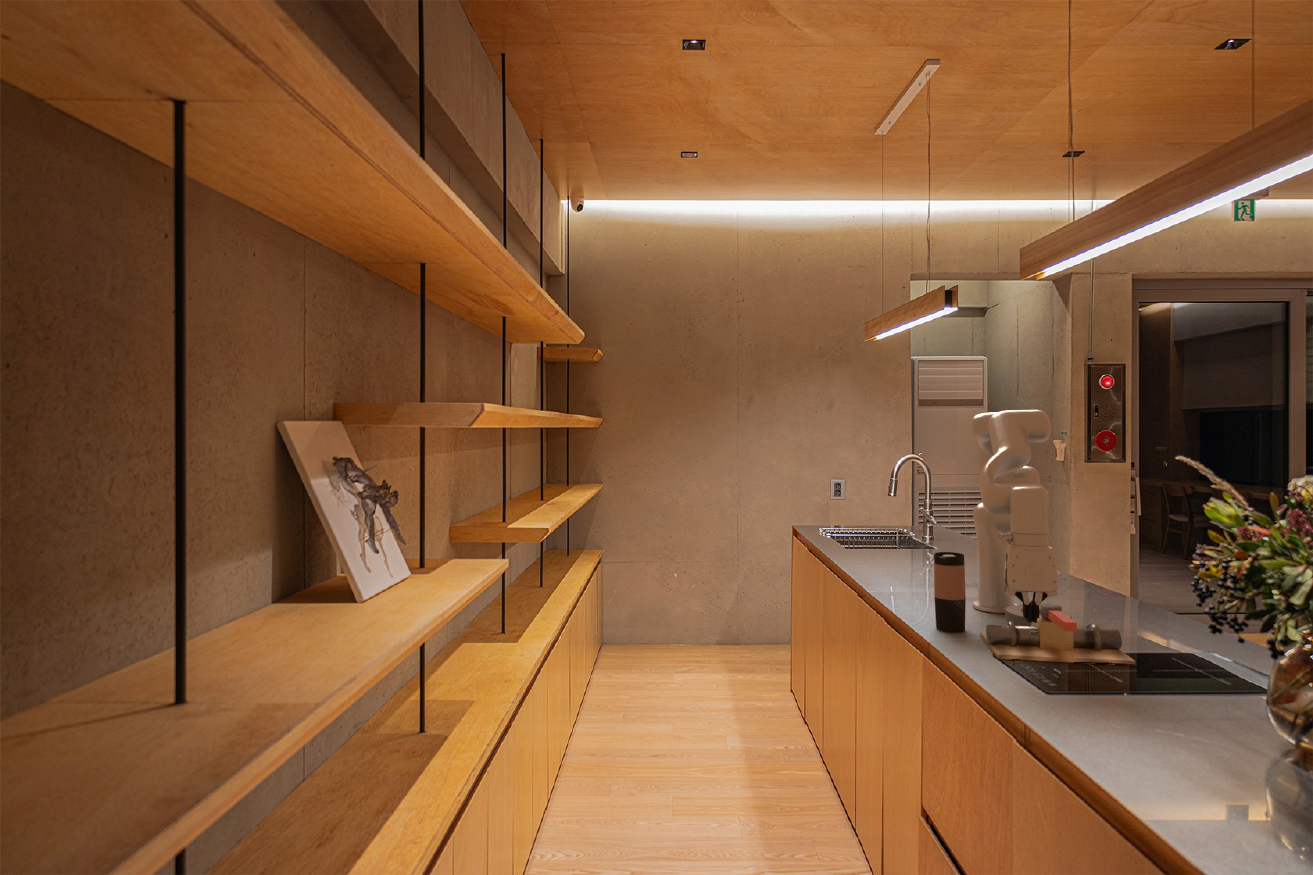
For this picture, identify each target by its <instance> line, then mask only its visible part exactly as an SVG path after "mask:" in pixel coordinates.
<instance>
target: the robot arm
mask: <svg viewBox="0 0 1313 875" xmlns="http://www.w3.org/2000/svg"><path fill="white" fill-rule="evenodd" d="M970 423H971V424H970V428H971V434H972V437H973V440H974V442H975V444H976V447H977V450H978V458H979V459H978V485H979V486H978V488H979V492H980V497H981V502H979V503H978V504H977V505H975V507H974V508H973V512H972V516H973V523H974V529H975V533H976V534H975V536H976V550H977V551H976V553H977V554H976V555H977V594H978V595H977V596H978V597H977V598H978V599H977V600H975V601H973V602H972V607H973V608H974V609H976V610H979V611H982V612H987V613H992V614H993V613H994V614H1005V608H1006V607H1008V606H1013V605H1019V604H1018V603H1015V597H1016V598H1017V599H1018V600H1019V601H1020V602H1022V605H1023V617H1024V618H1025V619H1026V620H1027V621H1028V622H1029V623H1032V622H1034V623H1037V618H1039V606H1041V605H1042V602H1044V601H1045V600H1046V599H1047V598H1051V597H1056V596H1058V591H1057V590H1058V589H1059V580H1058V579H1059V578H1058V570H1057V569H1058V568H1057V561H1056V556H1055V552H1054V548H1053V547H1052V546H1049V521H1048V520H1049V518H1048V512H1049V511H1048V508H1049V504H1050V496H1049V492H1048V490H1046V488H1045V487H1044V486H1043V485H1042V484H1041V476H1040V474H1039V472H1038V470H1037V469H1036V468H1034V467H1033V466H1029V465H1028V464H1029V463H1030V461H1031V459H1032V452H1031V447H1030V443H1045V442H1046V441H1048V439H1050V437H1051V433H1052V424H1051V420H1050V418H1049V416H1048V414H1047V412H1045V411H1044V410H1040V409H1020V410H1018V409H1016V410H1014V409H1013V410H1002V411H997V412H994V411H993V412H983V413H978V414H976V415H974V417H973V416H972V418H971V422H970ZM1029 593H1032V597H1031V601H1030V595H1029Z"/></svg>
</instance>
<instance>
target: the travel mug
mask: <svg viewBox="0 0 1313 875" xmlns="http://www.w3.org/2000/svg"><path fill="white" fill-rule="evenodd" d="M933 563H934V564H933V573H934V574H933V580H934V581H933V582H934V583H933V584H934V593H933V594H934V610H935V611H934V612H935V614H934V615H935V629H937V630H938V631H940V632H944V633H949V634H951V633H952V634H959V633H963V632H965V631H966V607H967V606H966V604H967V602H966V600H967V599H966V596H967V595H966V571H965V569H966V568H965V567H966V566H965V565H966V564H965V554H963V553H962V552H961V553H959V552H953V551H940V552H939V551H938V552H934V554H933Z"/></svg>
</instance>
